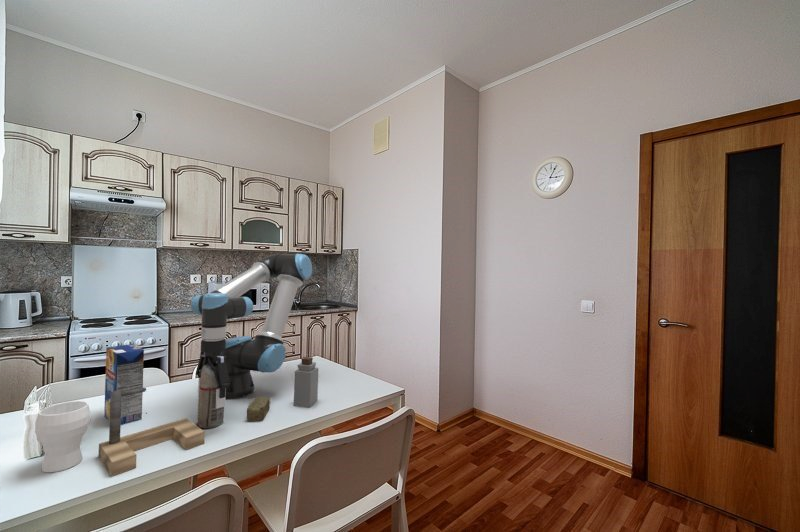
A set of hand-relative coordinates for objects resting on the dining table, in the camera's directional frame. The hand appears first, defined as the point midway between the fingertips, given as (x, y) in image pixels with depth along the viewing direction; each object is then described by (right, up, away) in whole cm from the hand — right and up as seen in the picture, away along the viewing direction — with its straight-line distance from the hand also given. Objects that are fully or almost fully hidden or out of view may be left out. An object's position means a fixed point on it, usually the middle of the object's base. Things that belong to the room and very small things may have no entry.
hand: (211, 401), depth 118 cm
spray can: (0, -8, 0) cm, 8 cm away
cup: (-26, -7, -25) cm, 37 cm away
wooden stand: (-7, -7, -17) cm, 20 cm away
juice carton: (-32, -7, +2) cm, 33 cm away
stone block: (+13, -8, +8) cm, 17 cm away
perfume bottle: (+27, -9, +20) cm, 34 cm away
